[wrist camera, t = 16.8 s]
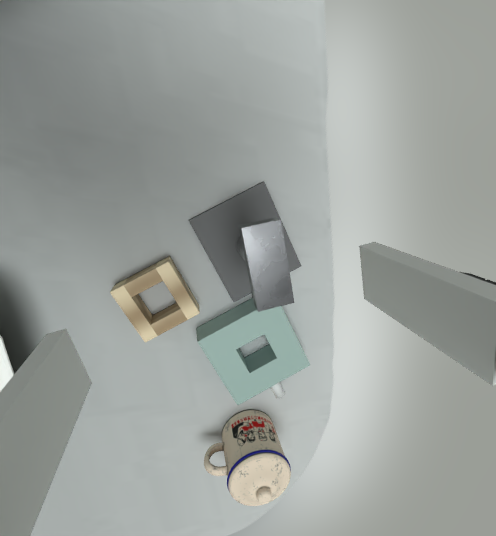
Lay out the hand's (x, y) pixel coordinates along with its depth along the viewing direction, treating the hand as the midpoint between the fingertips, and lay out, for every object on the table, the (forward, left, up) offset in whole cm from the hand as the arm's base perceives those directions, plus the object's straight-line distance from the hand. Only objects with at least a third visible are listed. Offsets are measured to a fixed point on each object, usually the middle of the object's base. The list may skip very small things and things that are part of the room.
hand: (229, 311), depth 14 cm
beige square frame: (+6, -9, -29) cm, 31 cm away
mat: (+5, +5, -29) cm, 29 cm away
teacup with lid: (+33, -10, -29) cm, 45 cm away
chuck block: (+21, -1, -28) cm, 35 cm away
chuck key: (+5, +5, -28) cm, 29 cm away
